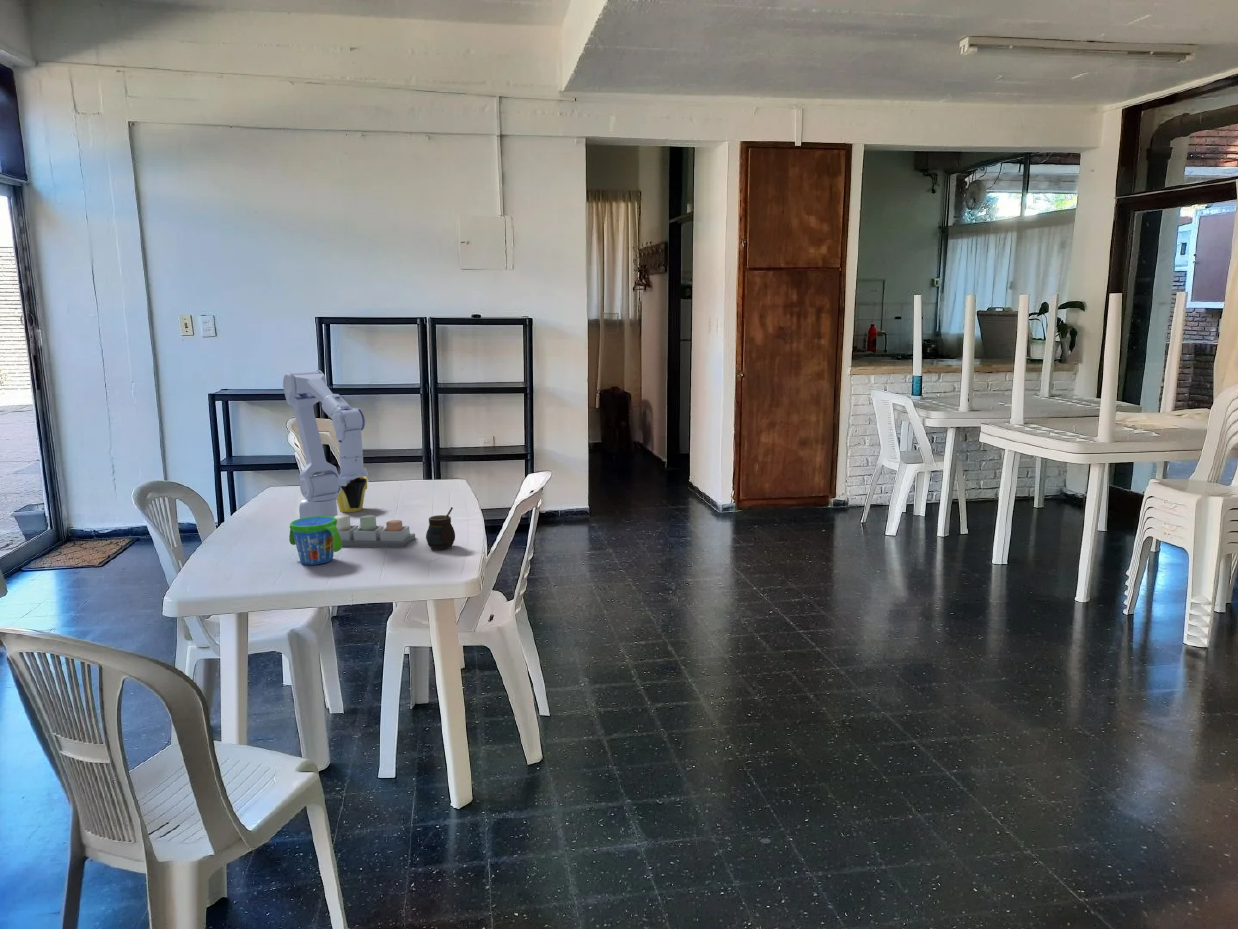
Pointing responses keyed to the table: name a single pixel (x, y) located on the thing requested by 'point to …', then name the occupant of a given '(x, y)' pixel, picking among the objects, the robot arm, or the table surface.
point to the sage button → (368, 523)
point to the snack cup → (315, 539)
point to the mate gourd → (440, 532)
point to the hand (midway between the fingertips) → (354, 507)
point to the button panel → (376, 537)
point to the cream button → (343, 522)
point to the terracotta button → (394, 525)
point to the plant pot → (343, 500)
